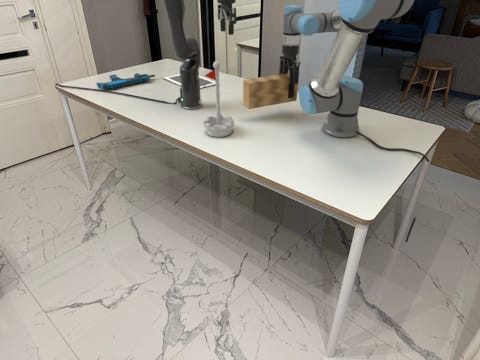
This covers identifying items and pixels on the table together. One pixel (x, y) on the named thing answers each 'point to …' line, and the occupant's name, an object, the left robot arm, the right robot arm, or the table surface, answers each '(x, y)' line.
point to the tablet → (203, 81)
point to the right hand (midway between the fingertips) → (287, 95)
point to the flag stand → (218, 111)
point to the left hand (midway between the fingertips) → (227, 32)
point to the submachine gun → (124, 81)
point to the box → (267, 91)
